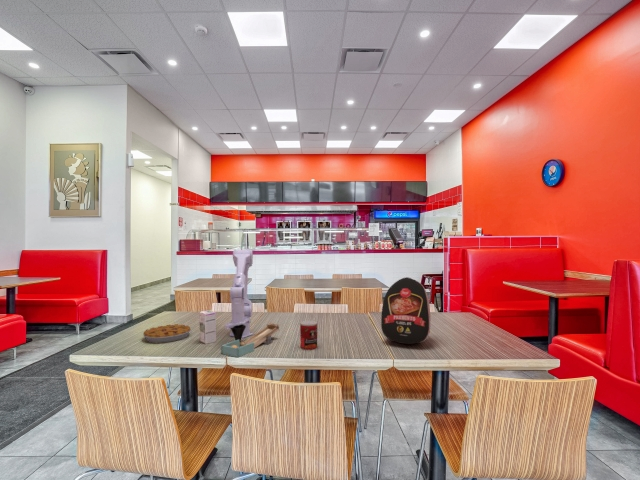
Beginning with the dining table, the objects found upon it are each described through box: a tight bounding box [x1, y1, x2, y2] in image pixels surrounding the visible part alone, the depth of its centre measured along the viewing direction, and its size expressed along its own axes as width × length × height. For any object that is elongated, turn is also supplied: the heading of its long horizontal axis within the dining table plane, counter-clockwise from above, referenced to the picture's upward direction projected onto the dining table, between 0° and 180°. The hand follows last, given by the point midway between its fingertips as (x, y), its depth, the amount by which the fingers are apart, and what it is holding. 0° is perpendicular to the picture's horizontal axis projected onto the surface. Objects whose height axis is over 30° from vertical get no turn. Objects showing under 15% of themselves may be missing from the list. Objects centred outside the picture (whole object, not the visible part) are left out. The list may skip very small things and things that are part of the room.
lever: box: [233, 322, 280, 349], centre depth 154 cm, size 14×18×3 cm
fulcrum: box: [253, 333, 273, 346], centre depth 152 cm, size 9×4×3 cm, turn 59°
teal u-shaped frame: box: [220, 339, 255, 358], centre depth 138 cm, size 10×10×4 cm
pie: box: [142, 323, 192, 344], centre depth 162 cm, size 22×22×5 cm
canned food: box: [299, 320, 318, 351], centre depth 145 cm, size 8×8×11 cm
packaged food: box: [380, 276, 431, 345], centre depth 150 cm, size 22×20×30 cm
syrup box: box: [199, 309, 217, 345], centre depth 154 cm, size 6×6×14 cm
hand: (238, 341), depth 149 cm, fingers closed
